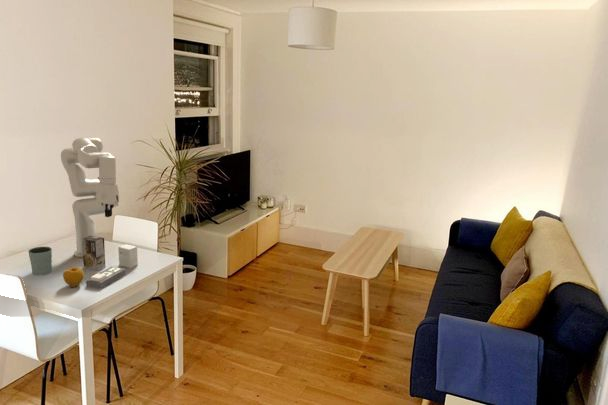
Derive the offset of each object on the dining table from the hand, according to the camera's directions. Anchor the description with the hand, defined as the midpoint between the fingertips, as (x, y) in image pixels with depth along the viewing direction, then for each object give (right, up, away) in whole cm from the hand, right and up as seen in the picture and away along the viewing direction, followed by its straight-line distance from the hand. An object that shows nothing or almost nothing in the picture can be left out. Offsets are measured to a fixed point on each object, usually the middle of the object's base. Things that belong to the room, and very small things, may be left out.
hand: (108, 216), depth 228 cm
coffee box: (-12, -27, +12) cm, 32 cm away
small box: (+3, -27, +17) cm, 32 cm away
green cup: (-34, -28, +2) cm, 45 cm away
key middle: (0, -31, -3) cm, 31 cm away
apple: (-12, -33, -11) cm, 37 cm away
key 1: (-1, -31, -9) cm, 32 cm away
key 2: (+2, -30, +3) cm, 30 cm away
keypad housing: (0, -31, -3) cm, 31 cm away
